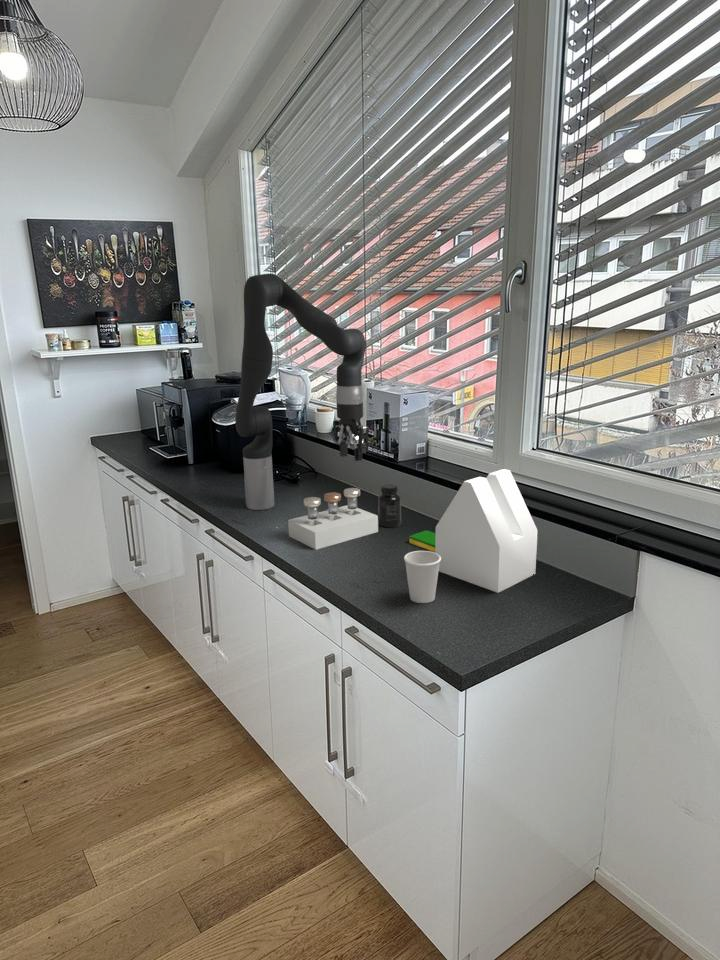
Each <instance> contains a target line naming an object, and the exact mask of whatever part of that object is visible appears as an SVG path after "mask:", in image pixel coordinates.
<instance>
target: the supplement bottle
mask: <svg viewBox="0 0 720 960" xmlns="http://www.w3.org/2000/svg"><path fill="white" fill-rule="evenodd" d="M380 492H381V494H379V496H378V499H377V501H378V502H377V505H378V506H377V507H378V525H379V526H380V527H383V528H396V527H399V526H401V524H402V499H401V498H402V497H401V495H400V494H399V493H398V492H399V491H398V485H396V484H392V483H391V484H390V483H389V484H383V485H381V487H380Z"/></svg>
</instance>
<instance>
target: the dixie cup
mask: <svg viewBox="0 0 720 960" xmlns="http://www.w3.org/2000/svg"><path fill="white" fill-rule="evenodd" d="M403 559H404V563H405V571H406V577H407V586H408V592H409V598H410V601H412V602H413V603H417V604H427V603H432V602H433V601H434V600H435V598H436V593H437V584H438V578H439V572H440V571H439V564H440V561H441V557H440V556H439V555H438V554H436V553H435V552H433V551H430V550H416V551H409V552H408V553H406V554H405V555H404V557H403Z"/></svg>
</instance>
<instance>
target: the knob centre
mask: <svg viewBox="0 0 720 960" xmlns="http://www.w3.org/2000/svg"><path fill="white" fill-rule="evenodd" d="M323 500H324V501H325V502H327V510H328V514H337V513H338V507H339V504H338V502H341V500H342V494H341V493H339V492H333V491H332V492H326V493H324V494H323Z"/></svg>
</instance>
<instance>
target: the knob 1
mask: <svg viewBox="0 0 720 960" xmlns="http://www.w3.org/2000/svg"><path fill="white" fill-rule="evenodd" d="M321 505H322V501H321V497H317V496H309V497H305V498H304V499H303V506H304V507H306V508H307V515H308V519H310V520H314V519H317V518H318V512H319V511H318V507H320V506H321Z"/></svg>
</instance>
